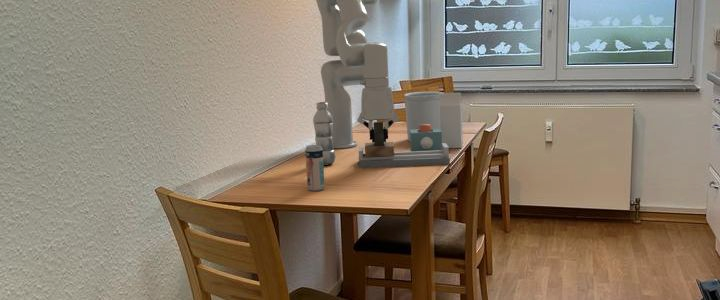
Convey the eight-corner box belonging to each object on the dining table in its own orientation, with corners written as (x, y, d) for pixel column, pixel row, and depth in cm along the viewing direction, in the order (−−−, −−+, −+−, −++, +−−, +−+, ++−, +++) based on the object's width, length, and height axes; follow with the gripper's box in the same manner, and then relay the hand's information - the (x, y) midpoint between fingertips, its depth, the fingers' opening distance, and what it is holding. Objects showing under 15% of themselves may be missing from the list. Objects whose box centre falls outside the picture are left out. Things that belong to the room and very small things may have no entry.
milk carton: (461, 148, 246) (460, 93, 243) (440, 148, 248) (439, 94, 244) (462, 145, 253) (461, 91, 250) (442, 145, 254) (441, 92, 251)
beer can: (307, 188, 195) (304, 145, 193) (324, 187, 195) (322, 144, 193) (307, 192, 190) (304, 148, 188) (325, 191, 190) (322, 147, 188)
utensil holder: (435, 143, 259) (434, 95, 256) (399, 141, 267) (397, 95, 264) (451, 137, 272) (450, 91, 269) (416, 136, 279) (414, 91, 276)
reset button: (420, 140, 235) (419, 125, 234) (419, 138, 239) (418, 124, 238) (432, 140, 235) (431, 125, 234) (431, 138, 239) (430, 123, 238)
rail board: (359, 168, 220) (358, 152, 219) (360, 160, 232) (359, 145, 231) (449, 164, 219) (449, 148, 218) (446, 157, 231) (445, 142, 230)
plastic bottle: (338, 162, 230) (335, 101, 227) (331, 167, 224) (327, 103, 220) (320, 162, 232) (316, 101, 229) (312, 166, 226) (308, 104, 222)
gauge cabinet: (411, 157, 234) (411, 133, 232) (410, 152, 242) (409, 129, 240) (442, 155, 233) (441, 131, 232) (440, 151, 242) (439, 128, 240)
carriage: (365, 157, 221) (363, 125, 219) (365, 152, 229) (364, 121, 228) (394, 155, 220) (392, 123, 219) (393, 150, 229) (392, 120, 228)
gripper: (349, 85, 218) (352, 144, 221) (403, 83, 217) (405, 142, 220) (350, 83, 225) (353, 141, 228) (402, 81, 225) (404, 138, 228)
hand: (379, 141), depth 224 cm, fingers closed on carriage, 3 cm apart
